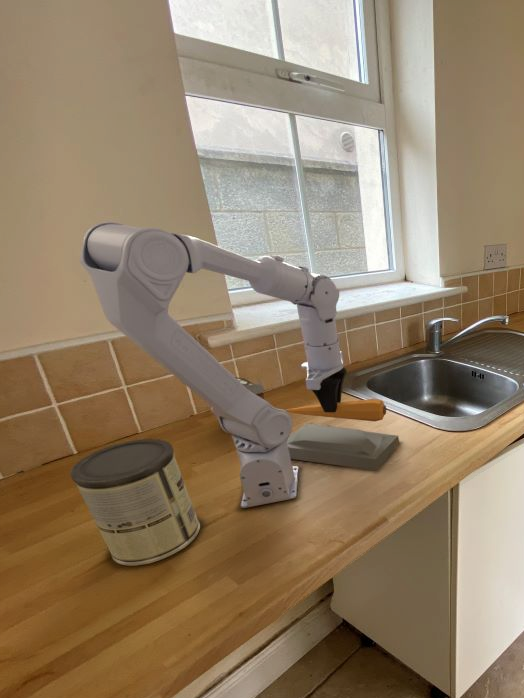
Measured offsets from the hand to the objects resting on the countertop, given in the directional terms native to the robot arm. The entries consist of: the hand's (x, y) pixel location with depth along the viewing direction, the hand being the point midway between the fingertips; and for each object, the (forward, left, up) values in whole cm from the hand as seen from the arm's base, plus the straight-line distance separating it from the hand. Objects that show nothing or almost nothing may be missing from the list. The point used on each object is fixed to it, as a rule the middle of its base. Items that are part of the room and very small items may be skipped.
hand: (332, 408), depth 86 cm
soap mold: (-2, 0, -8) cm, 9 cm away
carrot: (0, 0, -2) cm, 2 cm away
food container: (+16, +19, -9) cm, 26 cm away
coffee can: (-19, +25, -9) cm, 33 cm away
